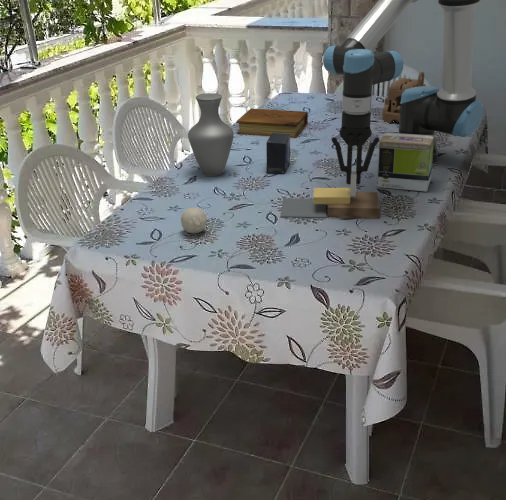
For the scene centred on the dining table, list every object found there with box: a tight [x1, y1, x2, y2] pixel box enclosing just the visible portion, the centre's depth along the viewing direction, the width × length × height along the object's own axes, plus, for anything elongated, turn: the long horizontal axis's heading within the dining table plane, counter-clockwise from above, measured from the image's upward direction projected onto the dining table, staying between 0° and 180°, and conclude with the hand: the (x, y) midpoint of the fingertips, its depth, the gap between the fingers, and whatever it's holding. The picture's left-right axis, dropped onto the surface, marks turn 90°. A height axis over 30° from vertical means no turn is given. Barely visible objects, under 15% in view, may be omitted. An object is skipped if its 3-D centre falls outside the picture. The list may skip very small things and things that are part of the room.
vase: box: [187, 92, 235, 177], centre depth 218 cm, size 14×14×25 cm
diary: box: [236, 108, 309, 139], centre depth 264 cm, size 23×19×6 cm
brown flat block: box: [327, 191, 381, 220], centre depth 193 cm, size 14×12×3 cm
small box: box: [265, 133, 291, 175], centre depth 223 cm, size 11×6×10 cm, turn 168°
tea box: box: [377, 132, 434, 193], centre depth 207 cm, size 15×10×15 cm, turn 71°
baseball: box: [180, 207, 208, 234], centre depth 181 cm, size 7×7×7 cm
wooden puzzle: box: [382, 71, 426, 124], centre depth 271 cm, size 22×15×19 cm, turn 148°
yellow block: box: [313, 187, 350, 205], centre depth 193 cm, size 10×7×2 cm
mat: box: [280, 197, 327, 219], centre depth 195 cm, size 12×13×1 cm
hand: (352, 194), depth 192 cm, fingers closed
